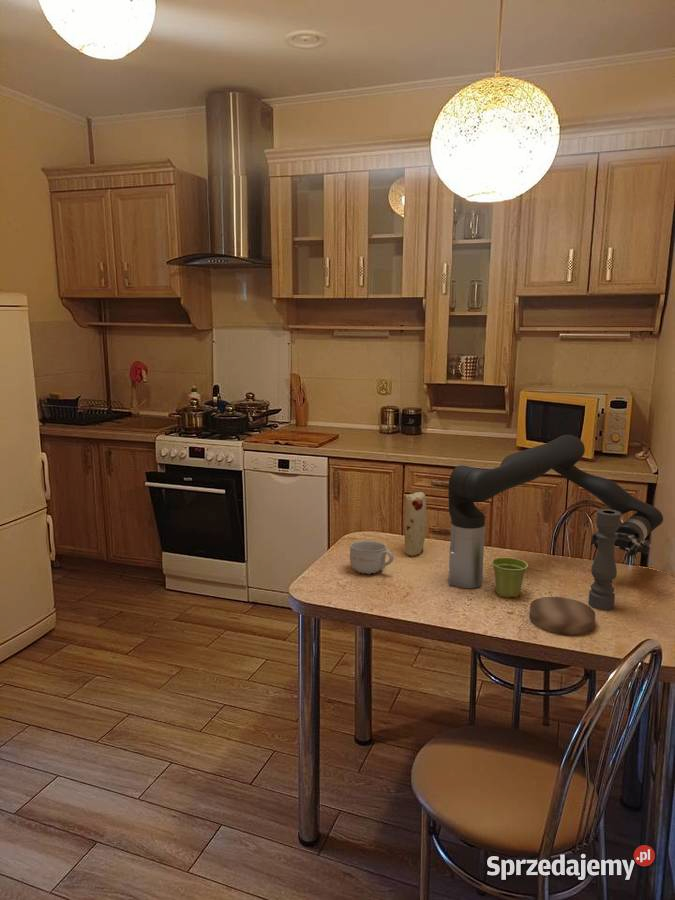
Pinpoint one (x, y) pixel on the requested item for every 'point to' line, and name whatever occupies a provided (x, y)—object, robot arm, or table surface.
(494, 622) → the table surface
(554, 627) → the walnut plinth
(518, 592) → the plant pot
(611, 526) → the candle holder
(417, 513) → the food model
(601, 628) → the table surface
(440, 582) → the table surface
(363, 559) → the teacup
